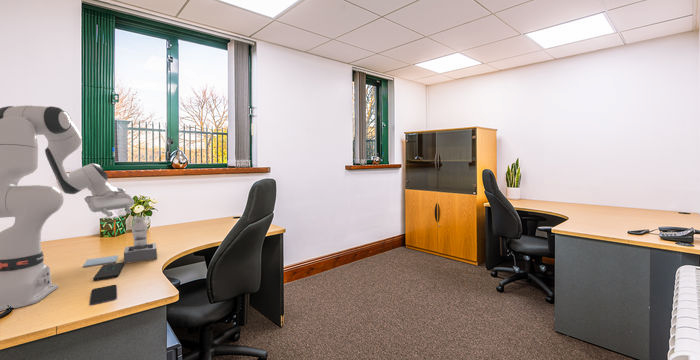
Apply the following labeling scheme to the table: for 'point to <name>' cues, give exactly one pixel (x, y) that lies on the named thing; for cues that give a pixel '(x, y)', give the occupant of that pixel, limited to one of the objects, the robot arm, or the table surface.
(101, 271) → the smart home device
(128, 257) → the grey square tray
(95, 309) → the table surface
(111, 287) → the smartphone
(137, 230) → the plastic bottle
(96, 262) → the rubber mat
